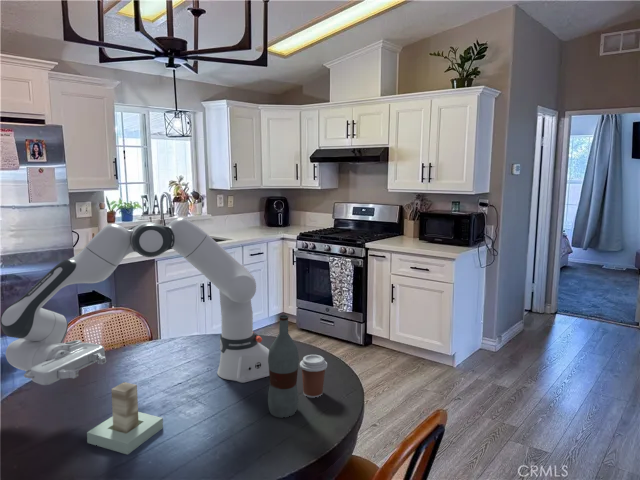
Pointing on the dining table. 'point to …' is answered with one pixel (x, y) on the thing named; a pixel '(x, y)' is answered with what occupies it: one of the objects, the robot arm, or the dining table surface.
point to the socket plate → (122, 441)
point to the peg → (125, 407)
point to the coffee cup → (313, 375)
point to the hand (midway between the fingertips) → (90, 367)
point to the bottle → (283, 373)
